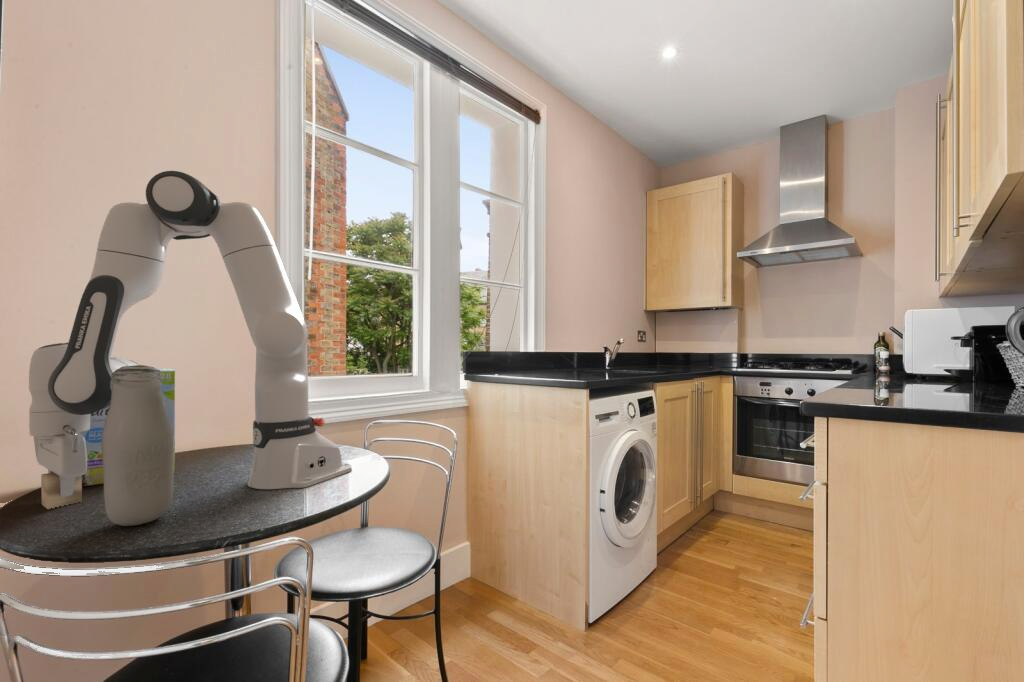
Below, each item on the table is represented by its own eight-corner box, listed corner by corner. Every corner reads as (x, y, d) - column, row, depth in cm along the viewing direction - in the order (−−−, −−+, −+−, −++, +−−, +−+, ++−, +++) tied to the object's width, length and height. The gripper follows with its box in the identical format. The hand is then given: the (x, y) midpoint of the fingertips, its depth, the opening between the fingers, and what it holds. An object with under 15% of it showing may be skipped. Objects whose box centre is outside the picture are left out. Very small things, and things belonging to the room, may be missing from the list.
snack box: (53, 492, 102) (52, 373, 102) (58, 483, 109) (56, 371, 109) (177, 474, 116) (175, 368, 116) (174, 466, 123) (173, 367, 122)
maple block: (75, 497, 99) (74, 468, 99) (82, 502, 96) (81, 472, 96) (41, 504, 95) (41, 474, 95) (47, 509, 92) (47, 478, 92)
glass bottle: (160, 508, 91) (158, 363, 91) (183, 519, 86) (181, 364, 85) (94, 525, 83) (91, 366, 83) (114, 539, 77) (112, 367, 77)
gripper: (97, 426, 92) (98, 497, 92) (67, 417, 104) (68, 480, 104) (52, 431, 87) (53, 507, 87) (27, 421, 98) (28, 488, 98)
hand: (61, 492), depth 95 cm, fingers closed on maple block, 5 cm apart
